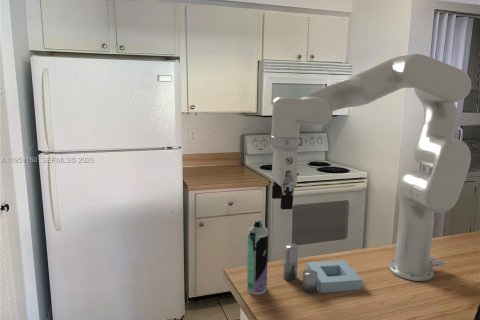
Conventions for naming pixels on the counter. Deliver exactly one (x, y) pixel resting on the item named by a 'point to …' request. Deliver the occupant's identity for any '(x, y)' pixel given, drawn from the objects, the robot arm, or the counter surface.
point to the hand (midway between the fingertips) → (281, 203)
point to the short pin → (309, 281)
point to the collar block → (335, 283)
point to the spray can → (257, 259)
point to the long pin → (290, 262)
